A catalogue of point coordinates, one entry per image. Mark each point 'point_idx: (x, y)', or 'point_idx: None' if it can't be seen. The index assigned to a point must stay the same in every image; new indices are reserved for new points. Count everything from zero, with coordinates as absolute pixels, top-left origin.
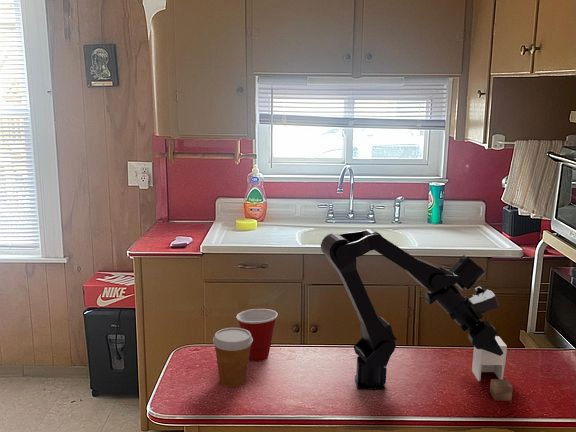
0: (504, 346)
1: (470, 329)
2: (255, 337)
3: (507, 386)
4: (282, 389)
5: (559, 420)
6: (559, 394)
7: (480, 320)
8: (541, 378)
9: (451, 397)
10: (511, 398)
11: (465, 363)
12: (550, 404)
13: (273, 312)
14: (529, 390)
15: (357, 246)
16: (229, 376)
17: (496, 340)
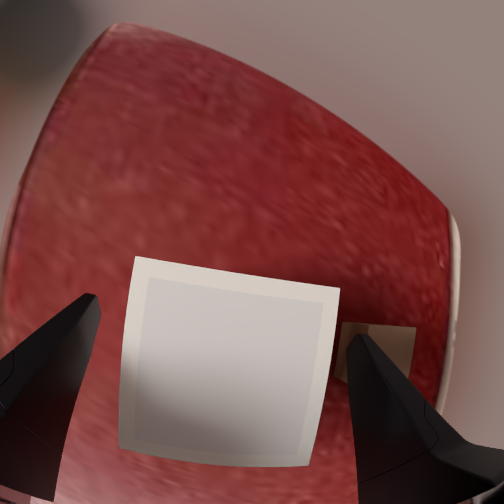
0: (336, 308)
1: (56, 456)
2: None
3: (411, 344)
4: None
5: (458, 244)
6: (356, 156)
7: (1, 418)
8: (253, 141)
9: (339, 484)
10: (391, 325)
11: (96, 366)
12: (406, 217)
13: None
14: (333, 229)
15: None
16: None
17: (223, 325)
